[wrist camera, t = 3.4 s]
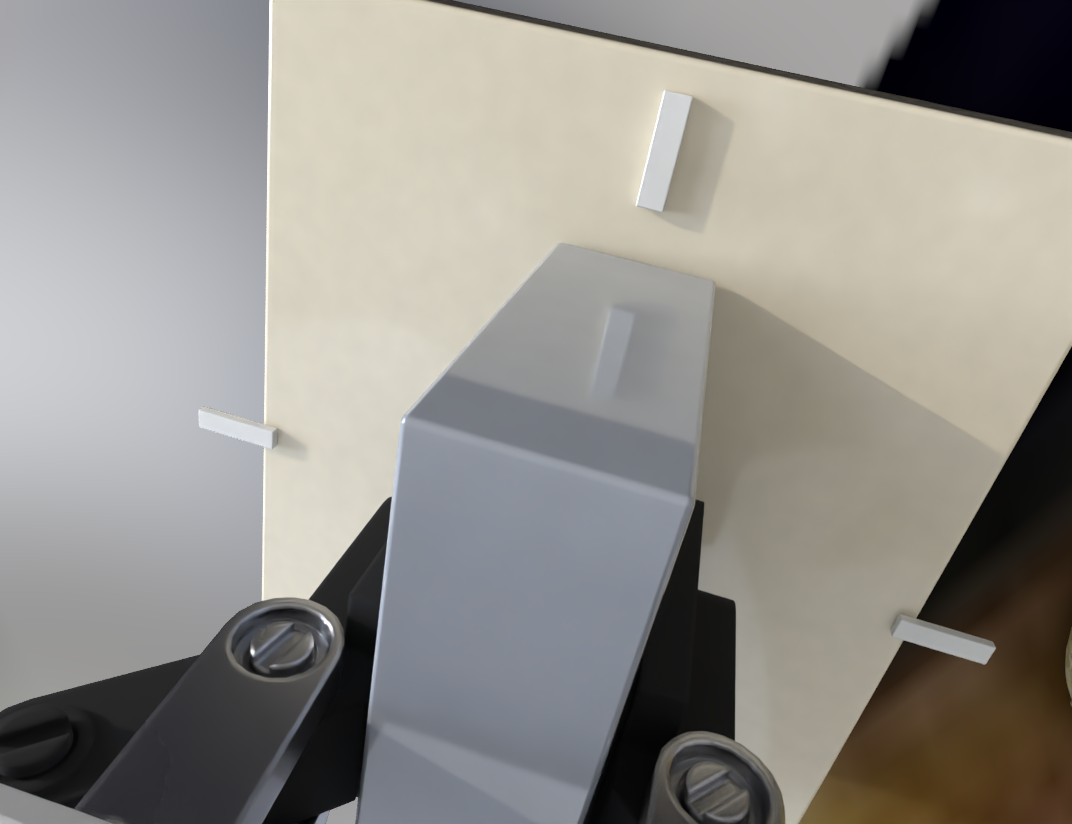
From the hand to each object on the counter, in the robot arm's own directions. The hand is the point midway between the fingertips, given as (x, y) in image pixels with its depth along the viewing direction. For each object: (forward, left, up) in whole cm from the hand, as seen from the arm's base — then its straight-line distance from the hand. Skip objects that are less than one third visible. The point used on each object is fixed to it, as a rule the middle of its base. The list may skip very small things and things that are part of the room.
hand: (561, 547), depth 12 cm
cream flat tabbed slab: (0, 0, -4) cm, 4 cm away
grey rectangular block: (0, 0, -1) cm, 1 cm away
